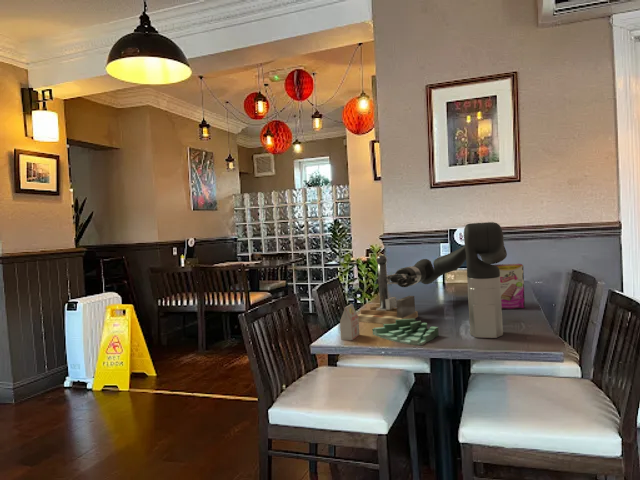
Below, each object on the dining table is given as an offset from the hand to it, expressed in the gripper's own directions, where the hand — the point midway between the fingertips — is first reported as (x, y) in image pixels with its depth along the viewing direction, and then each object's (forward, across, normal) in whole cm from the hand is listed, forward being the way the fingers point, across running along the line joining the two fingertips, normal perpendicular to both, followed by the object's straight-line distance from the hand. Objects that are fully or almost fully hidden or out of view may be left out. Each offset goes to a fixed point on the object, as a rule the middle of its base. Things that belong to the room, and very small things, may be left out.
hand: (388, 282), depth 173 cm
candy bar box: (-29, +34, +13) cm, 47 cm away
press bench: (+4, +1, +13) cm, 14 cm away
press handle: (+4, +1, +11) cm, 12 cm away
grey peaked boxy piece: (+31, +3, +13) cm, 34 cm away
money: (+24, +17, +14) cm, 32 cm away
